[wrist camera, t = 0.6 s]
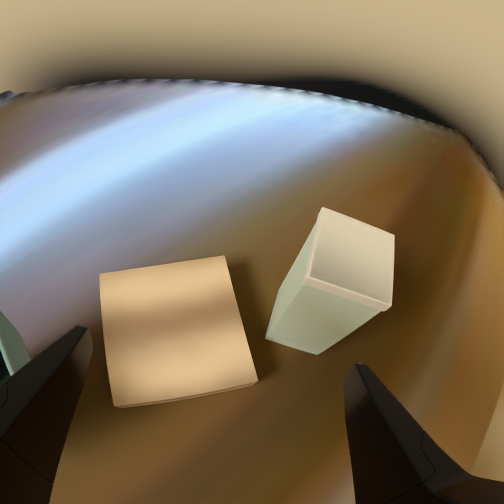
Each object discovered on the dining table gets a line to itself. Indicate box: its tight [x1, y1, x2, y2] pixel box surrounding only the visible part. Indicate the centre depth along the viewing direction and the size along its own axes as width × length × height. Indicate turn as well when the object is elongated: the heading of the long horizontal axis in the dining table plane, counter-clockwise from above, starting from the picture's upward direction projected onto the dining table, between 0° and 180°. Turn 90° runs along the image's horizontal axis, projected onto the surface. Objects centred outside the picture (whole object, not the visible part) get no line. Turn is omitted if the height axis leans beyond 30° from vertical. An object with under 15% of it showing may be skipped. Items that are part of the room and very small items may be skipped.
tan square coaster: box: [99, 255, 258, 408], centre depth 24 cm, size 11×11×3 cm
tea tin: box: [264, 207, 394, 355], centre depth 23 cm, size 5×5×12 cm
